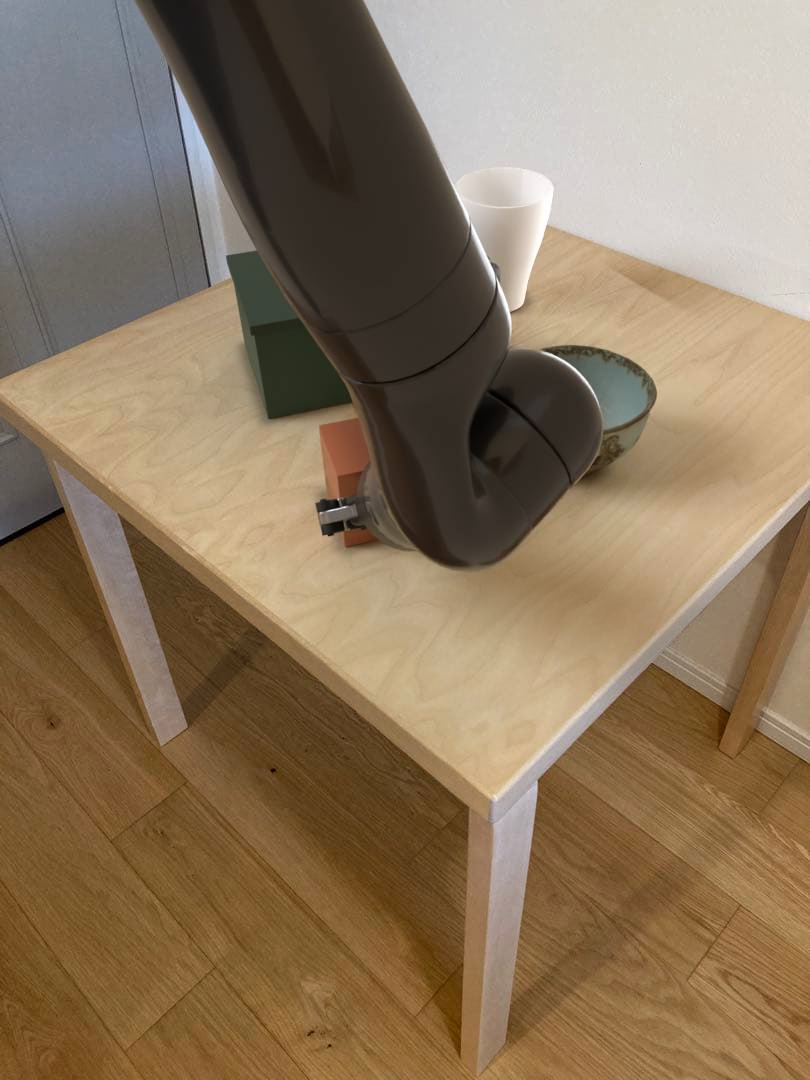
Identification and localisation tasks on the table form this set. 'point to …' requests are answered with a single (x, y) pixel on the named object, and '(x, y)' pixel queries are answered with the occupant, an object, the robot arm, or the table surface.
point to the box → (281, 345)
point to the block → (345, 467)
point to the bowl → (613, 396)
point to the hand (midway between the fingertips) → (383, 509)
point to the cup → (508, 221)
